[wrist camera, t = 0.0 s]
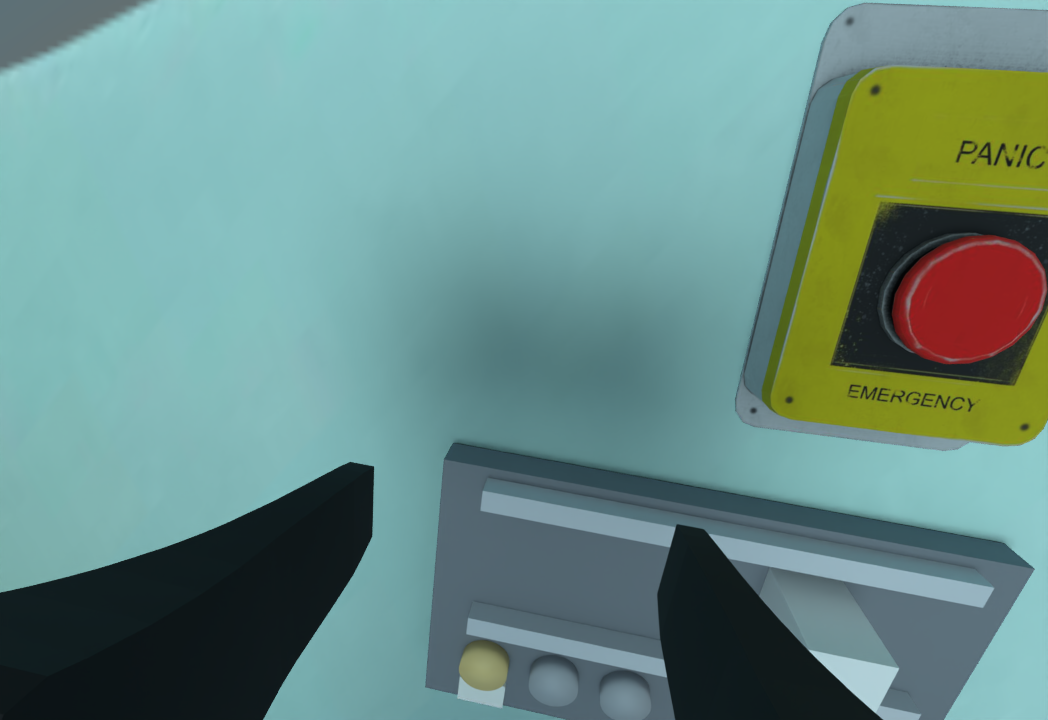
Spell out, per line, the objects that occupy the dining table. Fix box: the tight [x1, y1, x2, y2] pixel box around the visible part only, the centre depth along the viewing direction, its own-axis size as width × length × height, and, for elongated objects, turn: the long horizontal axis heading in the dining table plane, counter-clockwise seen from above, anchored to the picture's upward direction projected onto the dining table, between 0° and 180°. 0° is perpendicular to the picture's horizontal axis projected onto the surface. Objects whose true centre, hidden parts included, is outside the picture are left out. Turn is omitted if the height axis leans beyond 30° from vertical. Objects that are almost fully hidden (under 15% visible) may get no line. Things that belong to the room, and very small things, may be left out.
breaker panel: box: [425, 443, 1034, 720], centre depth 23 cm, size 14×24×2 cm, turn 83°
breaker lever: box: [759, 567, 899, 713], centre depth 19 cm, size 4×3×4 cm
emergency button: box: [735, 3, 1048, 451], centre depth 16 cm, size 9×4×15 cm
